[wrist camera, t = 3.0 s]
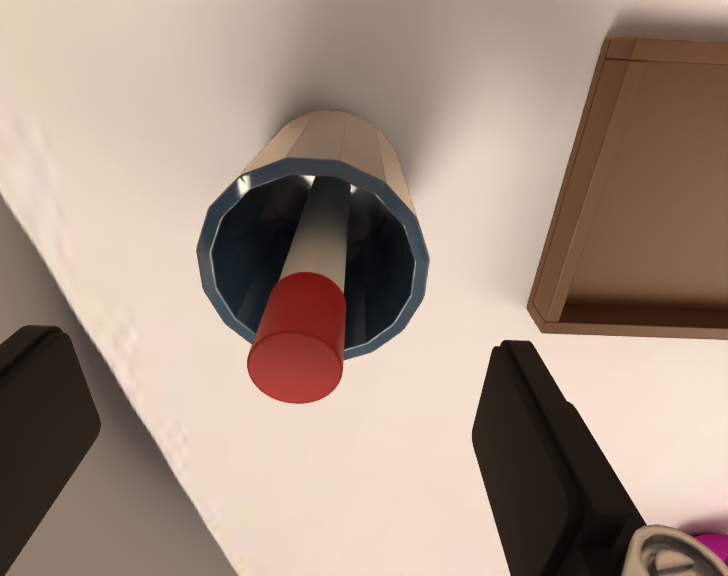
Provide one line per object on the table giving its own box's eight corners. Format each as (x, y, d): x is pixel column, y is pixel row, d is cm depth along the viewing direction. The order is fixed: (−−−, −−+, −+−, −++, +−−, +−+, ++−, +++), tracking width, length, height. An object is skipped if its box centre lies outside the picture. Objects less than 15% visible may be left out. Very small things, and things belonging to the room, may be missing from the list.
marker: (309, 165, 21) (242, 329, 9) (353, 167, 21) (343, 333, 9) (310, 207, 22) (250, 403, 10) (351, 209, 22) (341, 406, 10)
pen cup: (256, 105, 20) (178, 152, 12) (408, 113, 21) (443, 165, 12) (266, 245, 24) (213, 359, 15) (395, 251, 24) (414, 366, 16)
